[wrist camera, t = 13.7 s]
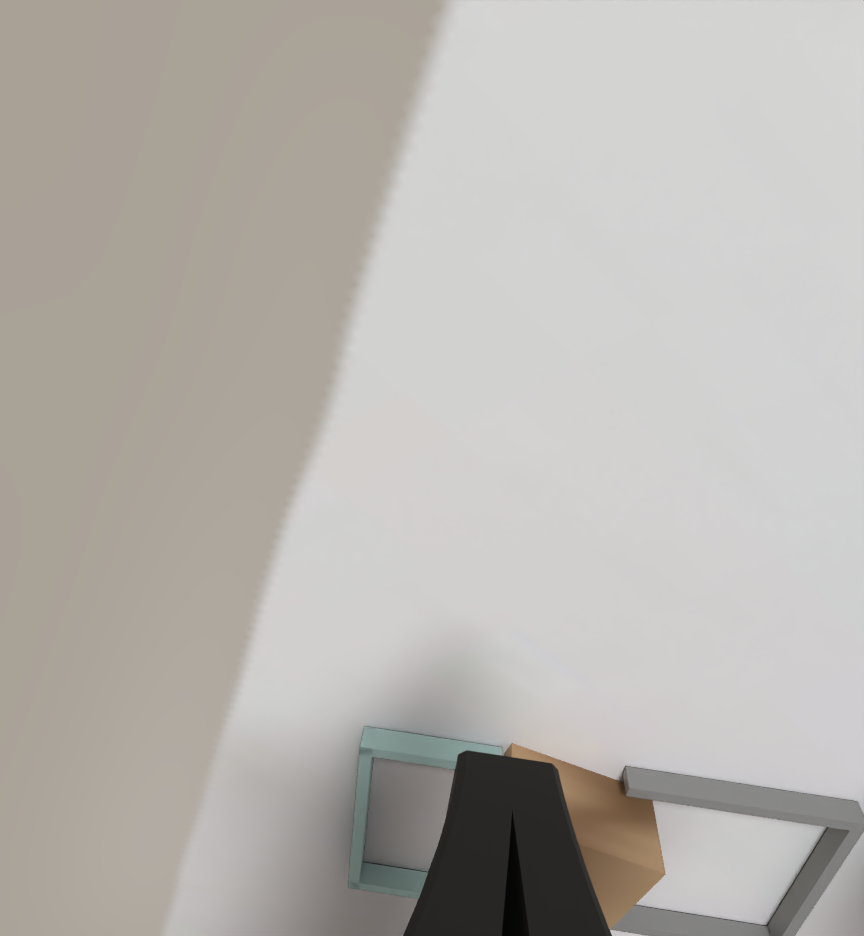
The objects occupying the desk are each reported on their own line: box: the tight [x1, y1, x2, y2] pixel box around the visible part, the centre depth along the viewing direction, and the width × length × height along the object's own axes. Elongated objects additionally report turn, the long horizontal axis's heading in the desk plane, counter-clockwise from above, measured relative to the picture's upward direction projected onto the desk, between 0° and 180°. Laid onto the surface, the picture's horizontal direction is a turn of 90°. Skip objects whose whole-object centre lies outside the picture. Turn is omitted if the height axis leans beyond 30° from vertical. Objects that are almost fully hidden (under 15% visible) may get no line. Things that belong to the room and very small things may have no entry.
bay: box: [348, 726, 502, 899], centre depth 26 cm, size 4×8×1 cm, turn 174°
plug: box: [503, 743, 665, 930], centre depth 24 cm, size 5×5×3 cm
